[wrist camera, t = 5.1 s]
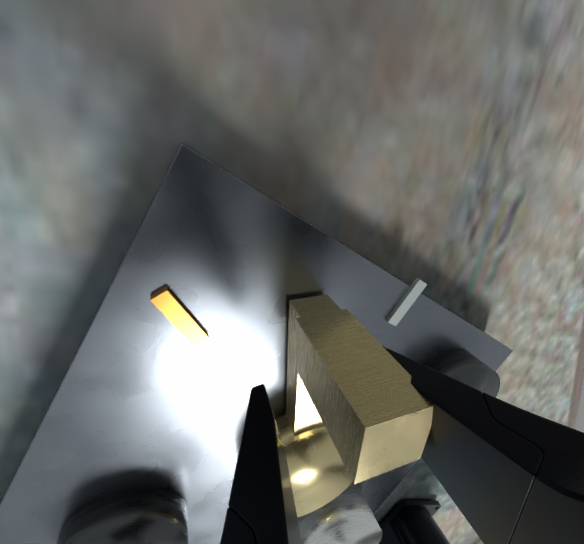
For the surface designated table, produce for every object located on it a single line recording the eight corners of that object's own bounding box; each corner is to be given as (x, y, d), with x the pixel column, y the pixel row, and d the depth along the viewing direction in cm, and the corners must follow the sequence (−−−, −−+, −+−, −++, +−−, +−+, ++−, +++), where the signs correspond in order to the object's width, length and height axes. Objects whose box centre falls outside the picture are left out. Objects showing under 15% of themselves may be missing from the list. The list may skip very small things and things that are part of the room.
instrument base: (489, 326, 20) (571, 378, 16) (327, 523, 24) (359, 607, 20) (188, 129, 10) (197, 127, 5) (-19, 538, 14) (-108, 725, 9)
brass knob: (344, 467, 17) (407, 593, 13) (243, 503, 15) (273, 669, 11) (374, 287, 12) (499, 384, 8) (230, 308, 10) (276, 457, 6)
